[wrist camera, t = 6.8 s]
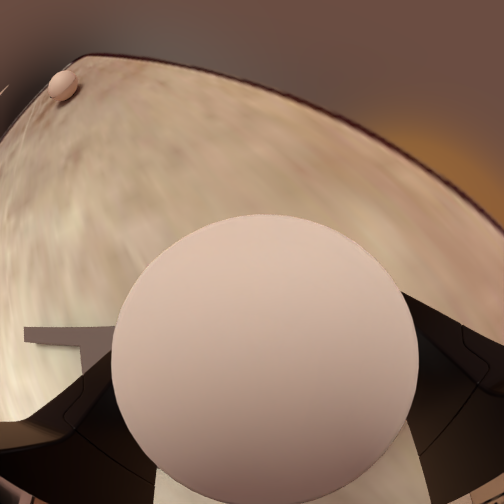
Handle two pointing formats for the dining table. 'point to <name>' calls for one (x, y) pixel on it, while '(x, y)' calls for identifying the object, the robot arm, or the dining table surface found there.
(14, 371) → the dining table surface
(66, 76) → the plastic egg
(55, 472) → the robot arm
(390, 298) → the pill bottle
